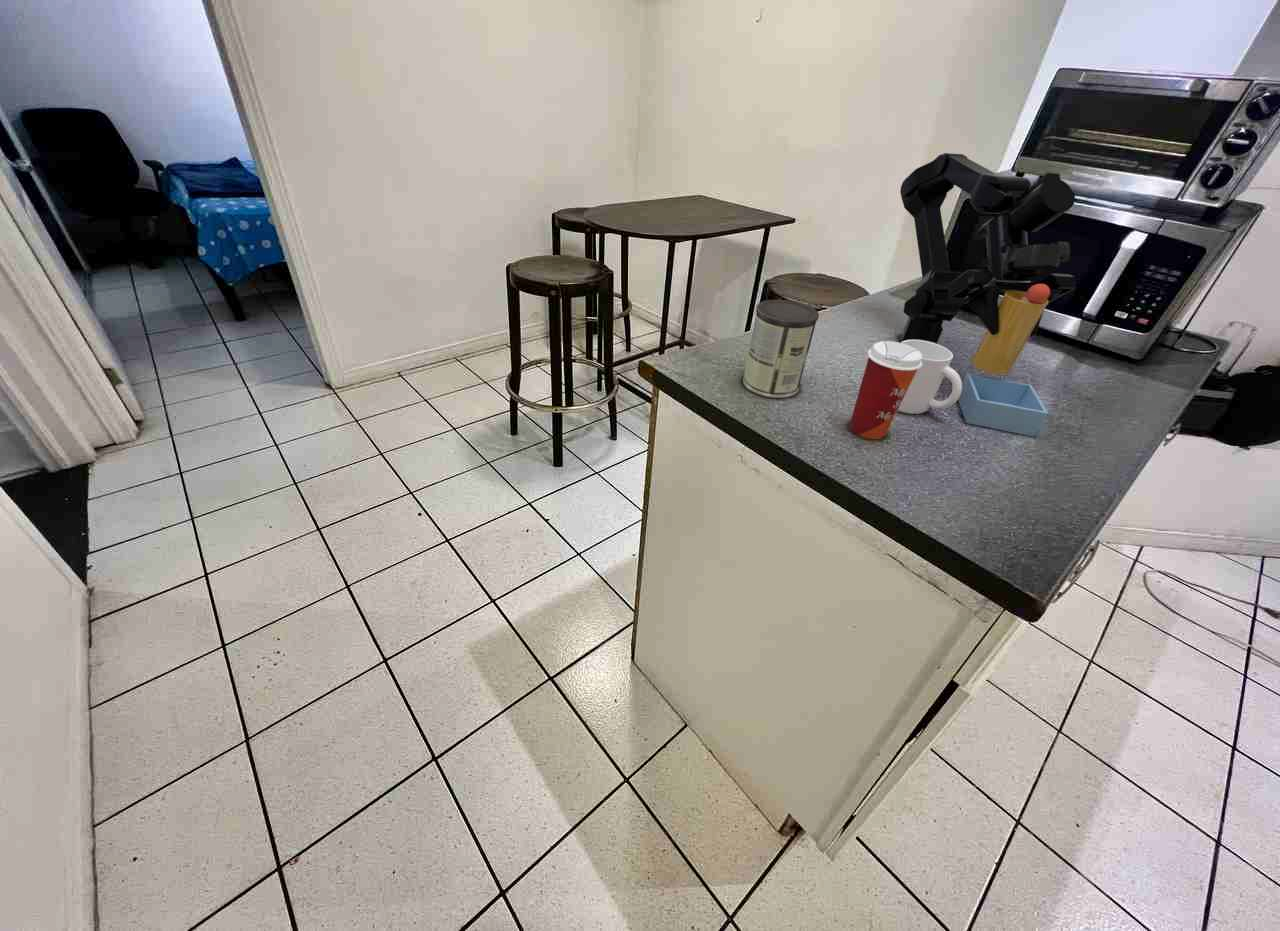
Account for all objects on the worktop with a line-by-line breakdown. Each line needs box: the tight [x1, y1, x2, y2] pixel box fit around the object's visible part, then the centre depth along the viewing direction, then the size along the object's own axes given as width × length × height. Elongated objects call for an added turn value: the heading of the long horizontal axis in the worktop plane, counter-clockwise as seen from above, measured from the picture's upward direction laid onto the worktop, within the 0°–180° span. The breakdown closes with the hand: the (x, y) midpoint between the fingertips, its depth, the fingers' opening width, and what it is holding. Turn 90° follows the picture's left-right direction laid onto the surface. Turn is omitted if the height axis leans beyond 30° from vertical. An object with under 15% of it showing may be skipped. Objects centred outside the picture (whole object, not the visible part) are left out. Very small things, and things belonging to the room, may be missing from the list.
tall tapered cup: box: [971, 291, 1050, 376], centre depth 89 cm, size 6×6×12 cm
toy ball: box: [1026, 284, 1050, 303], centre depth 83 cm, size 3×3×3 cm
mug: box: [897, 340, 963, 415], centre depth 89 cm, size 12×8×10 cm
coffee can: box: [742, 299, 820, 399], centre depth 92 cm, size 10×10×14 cm
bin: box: [957, 373, 1049, 437], centre depth 91 cm, size 10×10×4 cm
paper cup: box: [849, 340, 922, 440], centre depth 81 cm, size 8×8×14 cm
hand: (1013, 334), depth 88 cm, fingers closed on tall tapered cup, 6 cm apart
